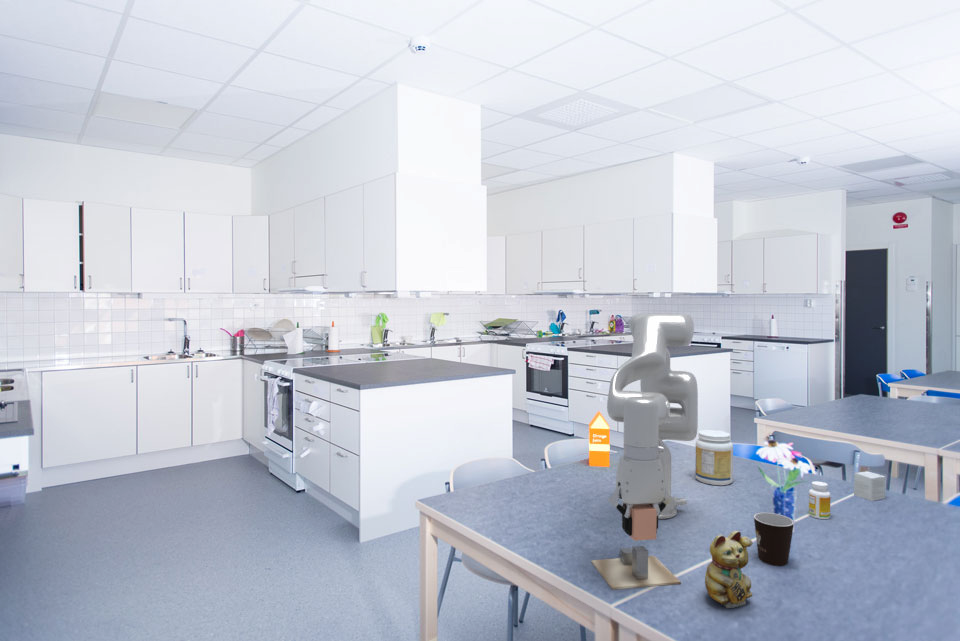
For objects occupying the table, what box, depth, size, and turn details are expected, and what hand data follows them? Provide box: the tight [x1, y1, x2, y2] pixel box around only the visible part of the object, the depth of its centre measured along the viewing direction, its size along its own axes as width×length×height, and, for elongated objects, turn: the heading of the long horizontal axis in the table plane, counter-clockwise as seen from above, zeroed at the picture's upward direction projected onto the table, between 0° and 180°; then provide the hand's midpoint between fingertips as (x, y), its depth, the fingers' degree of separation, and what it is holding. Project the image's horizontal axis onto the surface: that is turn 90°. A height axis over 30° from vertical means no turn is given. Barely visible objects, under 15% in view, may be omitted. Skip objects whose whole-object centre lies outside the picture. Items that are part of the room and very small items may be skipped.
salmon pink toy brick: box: [629, 504, 657, 542], centre depth 126 cm, size 5×5×7 cm
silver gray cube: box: [619, 547, 632, 566], centre depth 133 cm, size 3×3×3 cm
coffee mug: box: [753, 512, 795, 567], centre depth 137 cm, size 12×9×10 cm
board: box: [591, 555, 682, 590], centre depth 130 cm, size 16×13×1 cm
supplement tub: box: [695, 429, 734, 486], centre depth 196 cm, size 12×12×17 cm
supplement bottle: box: [808, 480, 832, 520], centre depth 163 cm, size 5×5×10 cm
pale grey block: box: [853, 470, 886, 502], centre depth 180 cm, size 6×6×7 cm
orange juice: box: [588, 410, 611, 468], centre depth 218 cm, size 8×9×20 cm
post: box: [631, 545, 649, 580], centre depth 126 cm, size 3×3×6 cm
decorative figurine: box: [704, 530, 754, 609], centre depth 118 cm, size 10×8×15 cm
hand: (640, 531), depth 126 cm, fingers closed on salmon pink toy brick, 5 cm apart
